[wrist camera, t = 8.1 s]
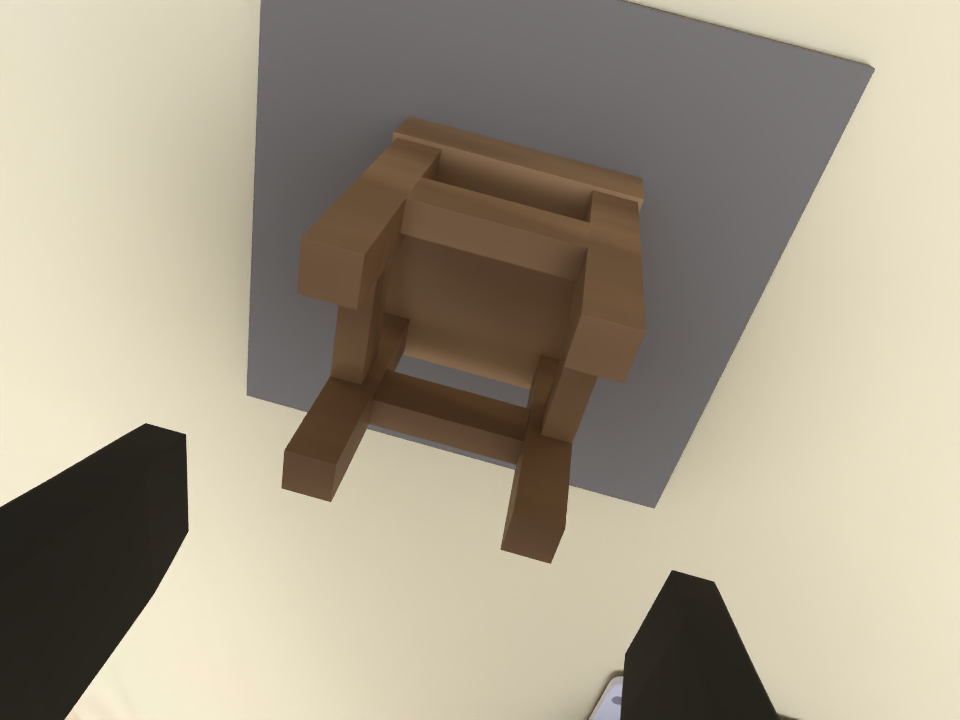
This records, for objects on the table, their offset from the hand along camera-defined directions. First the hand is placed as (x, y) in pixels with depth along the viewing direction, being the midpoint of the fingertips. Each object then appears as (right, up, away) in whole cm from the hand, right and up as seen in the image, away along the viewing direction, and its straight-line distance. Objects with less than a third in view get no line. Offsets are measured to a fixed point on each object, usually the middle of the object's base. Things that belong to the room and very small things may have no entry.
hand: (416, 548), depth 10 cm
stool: (+1, +5, +8) cm, 10 cm away
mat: (+1, +5, +8) cm, 10 cm away
